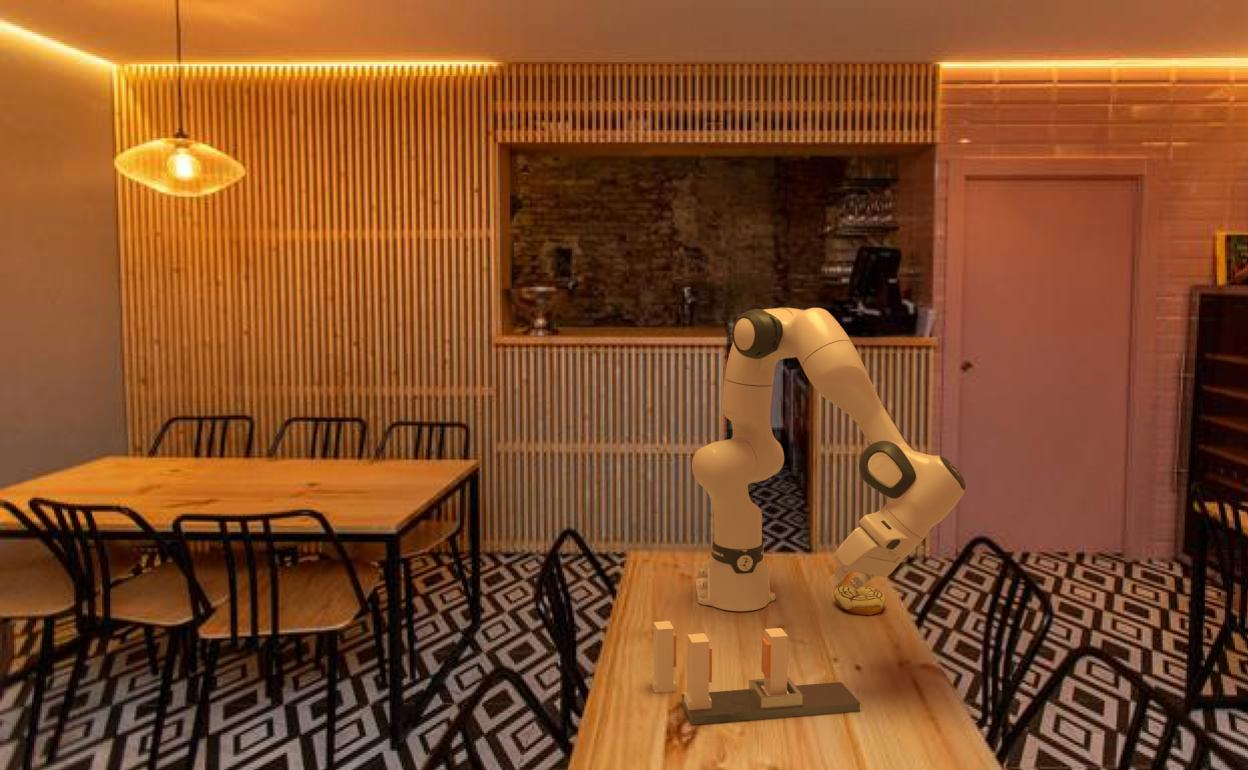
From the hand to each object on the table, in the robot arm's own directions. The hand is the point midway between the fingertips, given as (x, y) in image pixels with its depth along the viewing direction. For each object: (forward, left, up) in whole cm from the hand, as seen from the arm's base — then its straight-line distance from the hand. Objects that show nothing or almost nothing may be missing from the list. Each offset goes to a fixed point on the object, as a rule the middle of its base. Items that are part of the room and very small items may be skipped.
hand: (843, 585), depth 156 cm
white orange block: (-1, -34, -18) cm, 39 cm away
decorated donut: (-33, +19, -18) cm, 42 cm away
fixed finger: (+9, -30, -16) cm, 35 cm away
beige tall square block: (+9, -16, -16) cm, 25 cm away
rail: (+9, -17, -18) cm, 26 cm away
